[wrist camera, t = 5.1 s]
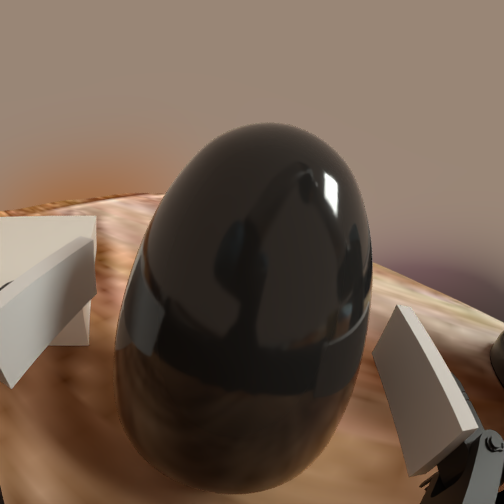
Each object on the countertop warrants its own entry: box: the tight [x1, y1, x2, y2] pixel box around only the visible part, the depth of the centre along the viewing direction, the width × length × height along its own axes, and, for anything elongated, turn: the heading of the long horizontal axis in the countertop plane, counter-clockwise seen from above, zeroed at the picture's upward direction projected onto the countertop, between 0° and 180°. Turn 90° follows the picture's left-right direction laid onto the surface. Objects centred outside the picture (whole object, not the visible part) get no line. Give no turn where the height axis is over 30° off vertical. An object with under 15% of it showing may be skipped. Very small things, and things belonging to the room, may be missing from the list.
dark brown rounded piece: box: [113, 123, 373, 494], centre depth 11 cm, size 10×10×15 cm
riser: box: [0, 216, 96, 346], centre depth 19 cm, size 16×16×4 cm
